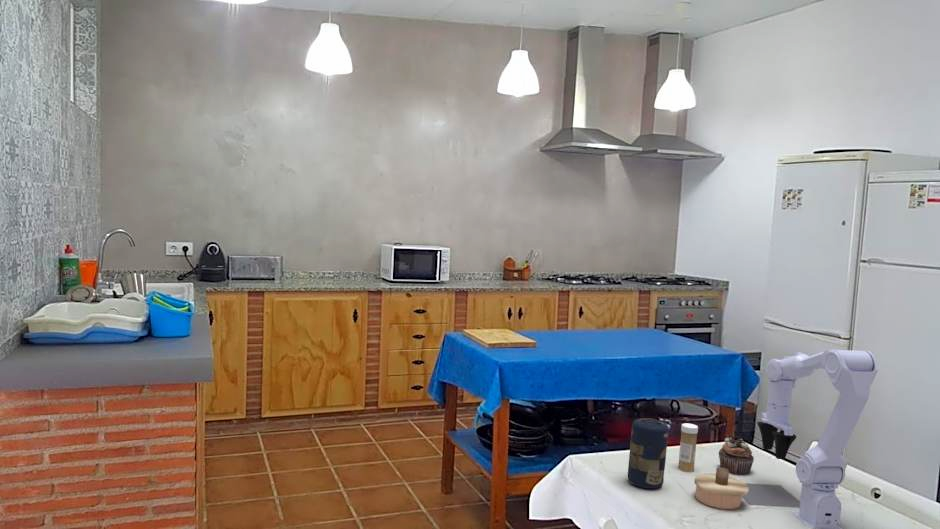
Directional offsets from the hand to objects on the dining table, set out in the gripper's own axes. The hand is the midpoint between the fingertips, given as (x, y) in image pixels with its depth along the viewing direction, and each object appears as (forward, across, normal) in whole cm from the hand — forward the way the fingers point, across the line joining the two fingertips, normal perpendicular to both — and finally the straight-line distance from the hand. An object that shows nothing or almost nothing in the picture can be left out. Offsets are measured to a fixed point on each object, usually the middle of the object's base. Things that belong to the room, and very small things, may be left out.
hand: (773, 453), depth 192 cm
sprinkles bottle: (+11, -12, -19) cm, 25 cm away
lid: (+6, +10, -18) cm, 21 cm away
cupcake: (+11, -14, -4) cm, 18 cm away
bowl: (+11, +10, -18) cm, 23 cm away
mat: (+10, +4, -3) cm, 12 cm away
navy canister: (+11, 0, -34) cm, 36 cm away
